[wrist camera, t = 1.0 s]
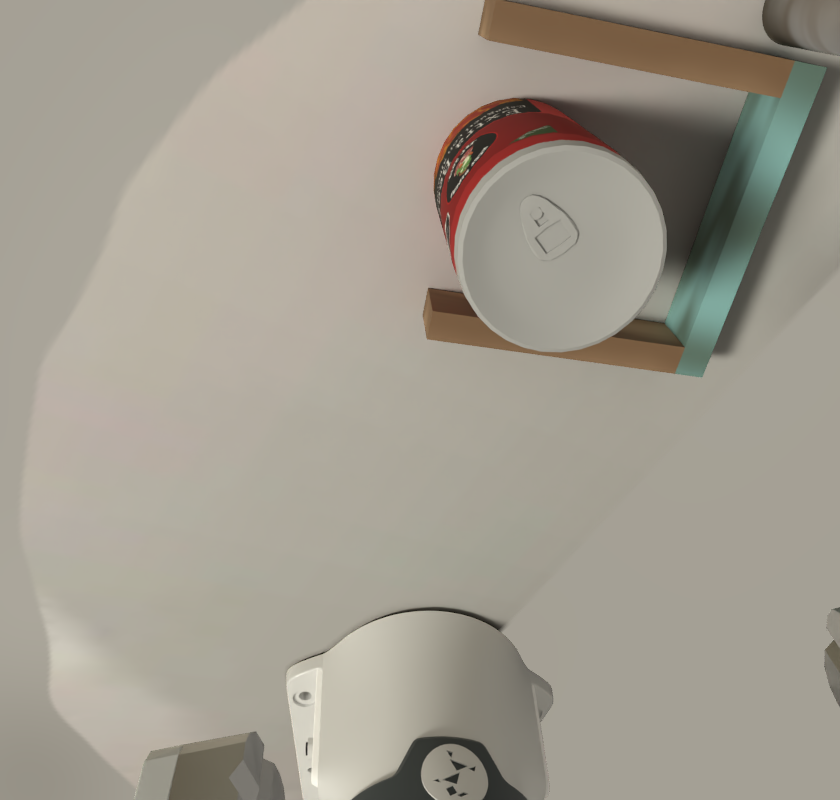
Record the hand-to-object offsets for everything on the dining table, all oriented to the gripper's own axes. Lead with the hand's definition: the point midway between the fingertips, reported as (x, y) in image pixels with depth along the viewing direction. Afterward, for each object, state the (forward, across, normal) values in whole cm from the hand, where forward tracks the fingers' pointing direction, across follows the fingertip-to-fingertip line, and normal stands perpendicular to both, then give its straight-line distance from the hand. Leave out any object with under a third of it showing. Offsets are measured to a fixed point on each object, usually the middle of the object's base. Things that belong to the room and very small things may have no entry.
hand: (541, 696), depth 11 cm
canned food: (+30, -4, +2) cm, 30 cm away
